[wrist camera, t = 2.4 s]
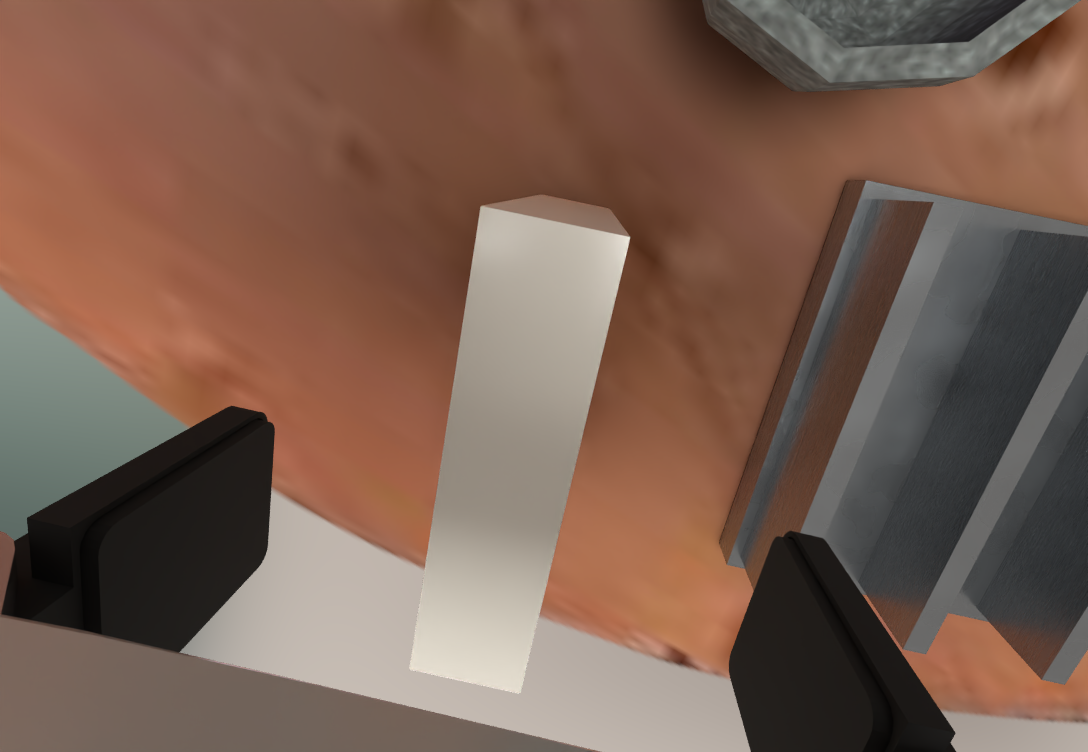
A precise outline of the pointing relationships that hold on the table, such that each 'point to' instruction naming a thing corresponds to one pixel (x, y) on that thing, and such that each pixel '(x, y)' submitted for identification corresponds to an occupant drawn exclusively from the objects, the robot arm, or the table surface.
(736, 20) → the mortar and pestle
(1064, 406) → the rack
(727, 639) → the table surface
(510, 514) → the white flat block
